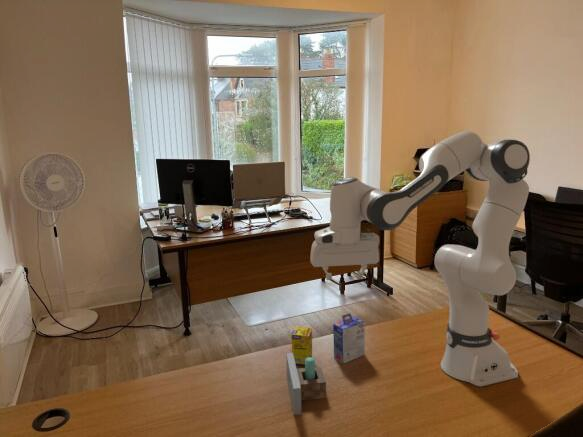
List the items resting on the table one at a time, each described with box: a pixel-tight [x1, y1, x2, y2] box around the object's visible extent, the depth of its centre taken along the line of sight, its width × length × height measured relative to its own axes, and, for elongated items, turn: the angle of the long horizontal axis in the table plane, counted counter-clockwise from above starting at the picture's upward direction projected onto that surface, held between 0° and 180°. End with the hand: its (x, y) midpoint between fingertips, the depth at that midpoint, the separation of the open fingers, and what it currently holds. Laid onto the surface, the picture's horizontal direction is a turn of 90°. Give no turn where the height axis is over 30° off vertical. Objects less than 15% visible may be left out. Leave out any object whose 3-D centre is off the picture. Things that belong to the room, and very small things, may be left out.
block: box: [296, 366, 327, 401], centre depth 127 cm, size 8×8×5 cm
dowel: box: [304, 356, 316, 380], centre depth 126 cm, size 3×3×9 cm
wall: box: [285, 352, 302, 416], centre depth 125 cm, size 2×18×8 cm, turn 7°
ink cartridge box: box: [332, 312, 366, 364], centre depth 144 cm, size 10×6×14 cm, turn 124°
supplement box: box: [290, 326, 313, 367], centre depth 141 cm, size 6×6×11 cm
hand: (344, 278), depth 129 cm, fingers open, 8 cm apart
